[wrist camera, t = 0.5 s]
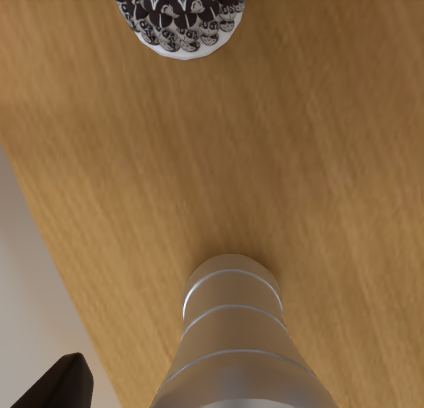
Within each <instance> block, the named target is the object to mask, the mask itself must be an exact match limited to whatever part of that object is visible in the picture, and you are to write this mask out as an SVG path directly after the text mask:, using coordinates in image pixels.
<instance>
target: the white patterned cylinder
mask: <svg viewBox="0 0 424 408" xmlns="http://www.w3.org/2000/svg"><path fill="white" fill-rule="evenodd" d="M116 1H117V5H118V8H119V10H120V12H121V14H122V15H123V16H124V17H125V18H126V21H127V23H128V25H129V27H130V28H131V29H132V30H133V31H134V32H135V33H136V35H137V36H138V38H139V39H140V41H141V42H142V43H144V44H145V45H146V46H148V47H149V48H151V49H152V50H154V51H155V52H157V53H158V54H160V55H161V56H165V57H170V58H175V59H180V60H189V59H194V58H199V57H203V56H208V55H209V54H211V53H212V52H214V51H215V50H216V49H218V48H219V47H221V46H222V45H223V44H225V43H226V42H228V40H229V39H230V37H231V35H232V34H233V32H234V31H235V29H236V27H237V26H238V24H239V23H240V21H241V18H242V12H243V11H244V10H245V7H246V5H245V0H116Z"/></svg>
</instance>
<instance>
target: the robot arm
mask: <svg viewBox="0 0 424 408" xmlns="http://www.w3.org/2000/svg"><path fill="white" fill-rule="evenodd" d="M93 384H94V382H93V376H92V373H91V371H90V369H89V367H88V365H87V363H86V360H85V358H84V356H83V355H82V354H81V353H78V352H77V353H73V354H68V355H64V356H62V357H61V358H60V359H59V360H58V361H57V362H56V363H55V364H54V365H53V366H52V367H51V368H50V369H49V370H48V371H47V372H46V373H45V374H44V375H43V376H42V377H41V378H40V379H39V380H38V381H37V382H36V383H35V384H34V385H33V386H32V387H31V388H30V389H29V390H28V391H27V392H26V393H25V394H24V395H23V396H22V397H21V398H20V399H19V400H18V401H17V402H16V403H15V404H14V405H13V406H12V407H10V408H90V406H91V399H92V393H93Z"/></svg>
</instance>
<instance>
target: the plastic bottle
mask: <svg viewBox="0 0 424 408" xmlns="http://www.w3.org/2000/svg"><path fill="white" fill-rule="evenodd" d="M182 316H183V333H182V338H181V341H180V344H179V347H178V350H177V353H176V355H175V358H174V361H173V364H172V365H171V367H170V369H169V371H168V373H167V375H166V377H165V379H164V381H163V383H162V385H161V387H160V389H159V390H158V392H157V394H156V396H155V398H154V400H153V402H152V404H151V406H150V408H339V407H338V406H337V404H336V402H335V401H334V399H333V398H332V396H331V395H330V393H329V392H328V391H327V390H326V388H325V387H324V385H323V384H322V383H321V381H320V380H319V379H318V377H317V376H316V375H315V373H314V372H313V371H312V369H311V368H310V367H309V365H308V364H307V363H306V361H305V360H304V359H303V357H302V356H301V355H300V353H299V351H298V349H297V348H296V346H295V344H294V342H293V340H292V339H291V337H290V335H289V333H288V331H287V329H286V325H285V321H284V317H283V304H282V298H281V292H280V289H279V286H278V284H277V282H276V280H275V279H274V277H273V275H272V274H271V273H270V272H269V271H268V270H267V269H266V268H265V267H264V266H262V265H261V264H259V263H258V262H256V261H255V260H254V259H251V258H249V257H247V256H244V255H239V254H221V255H217V256H214V257H212V258H210V259H208V260H206V261H205V262H203V263H202V264H201V265H200V266H199V267H197V268H196V269H195V270H194V271H193V273H192V274H191V275H190V277H189V278H188V280H187V282H186V284H185V286H184V290H183V294H182Z"/></svg>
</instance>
